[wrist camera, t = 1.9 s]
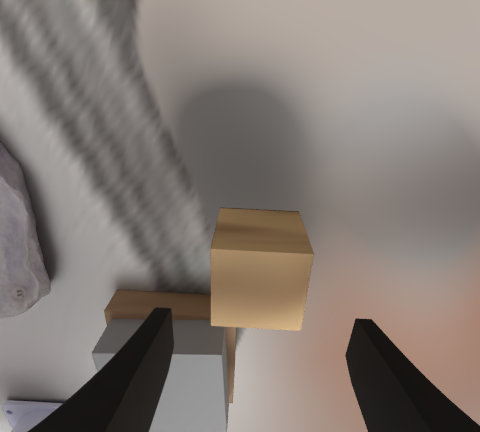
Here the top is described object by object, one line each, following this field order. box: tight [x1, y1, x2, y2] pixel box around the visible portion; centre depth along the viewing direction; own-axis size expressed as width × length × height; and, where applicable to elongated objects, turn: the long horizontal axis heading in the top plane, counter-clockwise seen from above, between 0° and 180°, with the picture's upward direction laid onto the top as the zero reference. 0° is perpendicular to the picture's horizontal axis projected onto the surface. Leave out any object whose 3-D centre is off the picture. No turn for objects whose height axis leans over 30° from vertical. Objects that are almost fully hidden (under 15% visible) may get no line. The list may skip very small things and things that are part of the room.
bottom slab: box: [104, 290, 236, 403], centre depth 21 cm, size 8×8×2 cm
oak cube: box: [211, 208, 314, 331], centre depth 16 cm, size 4×4×4 cm
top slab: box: [92, 319, 229, 432], centre depth 19 cm, size 7×7×2 cm
